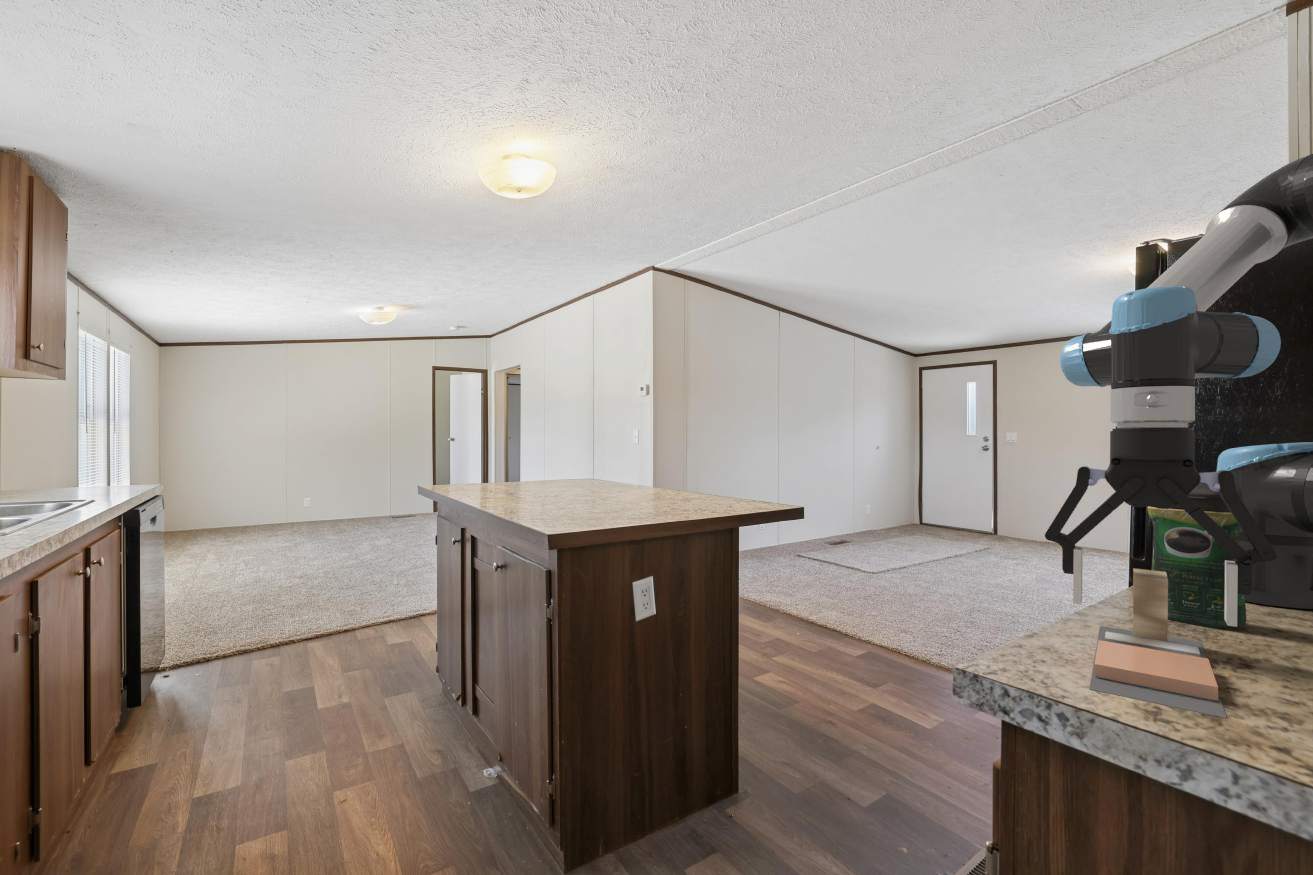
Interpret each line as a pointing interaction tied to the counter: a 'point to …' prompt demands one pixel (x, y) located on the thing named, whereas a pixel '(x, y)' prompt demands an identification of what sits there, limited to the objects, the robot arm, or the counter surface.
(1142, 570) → the upright block with backplate
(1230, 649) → the counter surface
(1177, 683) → the tile
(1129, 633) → the mat
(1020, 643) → the counter surface
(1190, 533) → the coffee jar
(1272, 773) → the counter surface
